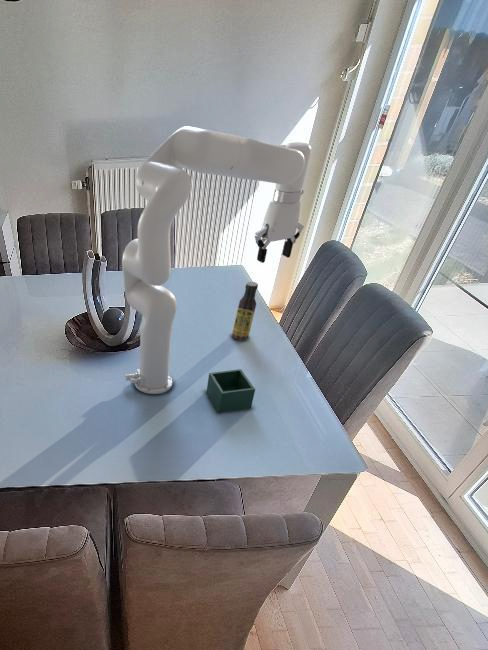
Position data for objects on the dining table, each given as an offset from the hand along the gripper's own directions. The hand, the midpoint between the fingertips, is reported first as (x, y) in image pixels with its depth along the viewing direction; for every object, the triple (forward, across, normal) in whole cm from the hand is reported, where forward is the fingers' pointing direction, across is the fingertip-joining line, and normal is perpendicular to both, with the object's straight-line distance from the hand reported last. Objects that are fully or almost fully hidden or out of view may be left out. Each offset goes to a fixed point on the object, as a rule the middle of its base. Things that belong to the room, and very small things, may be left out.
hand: (273, 258), depth 145 cm
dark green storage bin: (+31, +27, +24) cm, 47 cm away
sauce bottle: (+31, 0, -9) cm, 32 cm away
